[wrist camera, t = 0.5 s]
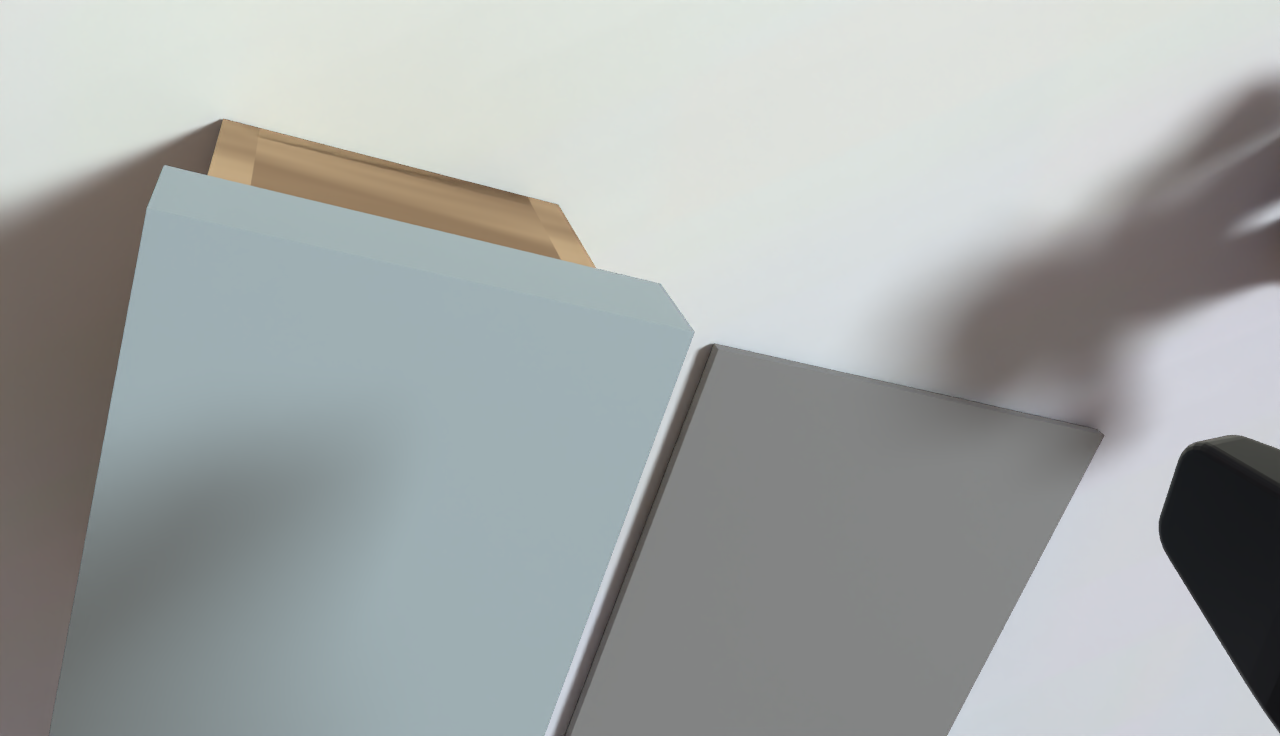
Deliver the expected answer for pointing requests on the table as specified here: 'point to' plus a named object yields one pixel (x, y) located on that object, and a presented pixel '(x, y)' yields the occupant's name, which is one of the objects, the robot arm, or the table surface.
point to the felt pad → (826, 557)
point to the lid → (354, 474)
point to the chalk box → (393, 191)
